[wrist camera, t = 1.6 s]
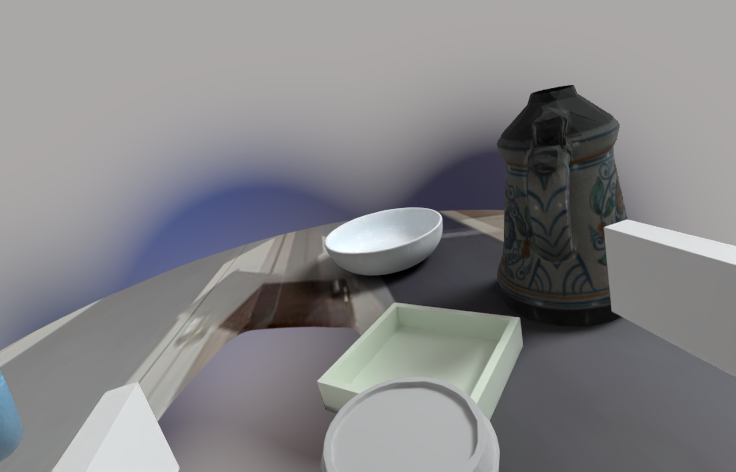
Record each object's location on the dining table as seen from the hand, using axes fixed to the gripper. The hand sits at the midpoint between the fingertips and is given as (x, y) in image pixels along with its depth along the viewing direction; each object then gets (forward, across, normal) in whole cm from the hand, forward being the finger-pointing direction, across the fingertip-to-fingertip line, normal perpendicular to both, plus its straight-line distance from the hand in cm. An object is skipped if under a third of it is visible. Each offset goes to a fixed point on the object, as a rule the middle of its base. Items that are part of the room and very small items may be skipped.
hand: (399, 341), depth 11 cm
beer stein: (+32, +27, -22) cm, 47 cm away
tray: (+27, +6, -21) cm, 35 cm away
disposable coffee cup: (+9, 0, -22) cm, 24 cm away
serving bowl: (+59, +11, -21) cm, 64 cm away
